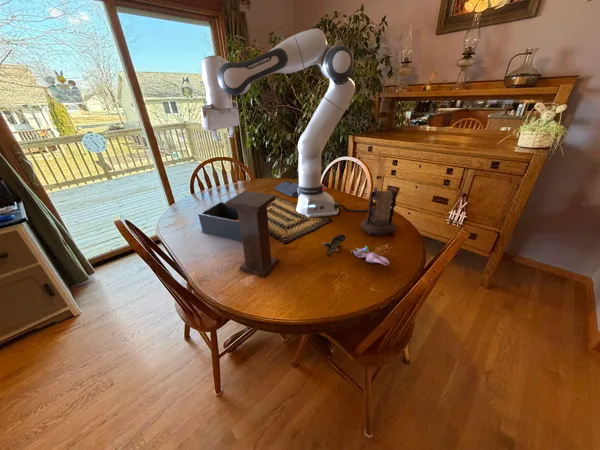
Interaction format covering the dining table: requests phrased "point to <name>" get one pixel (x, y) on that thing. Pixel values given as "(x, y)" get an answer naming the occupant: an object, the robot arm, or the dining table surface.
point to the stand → (254, 231)
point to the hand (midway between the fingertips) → (224, 139)
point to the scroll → (381, 213)
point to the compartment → (221, 221)
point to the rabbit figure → (370, 256)
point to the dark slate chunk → (288, 188)
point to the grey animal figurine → (334, 243)
